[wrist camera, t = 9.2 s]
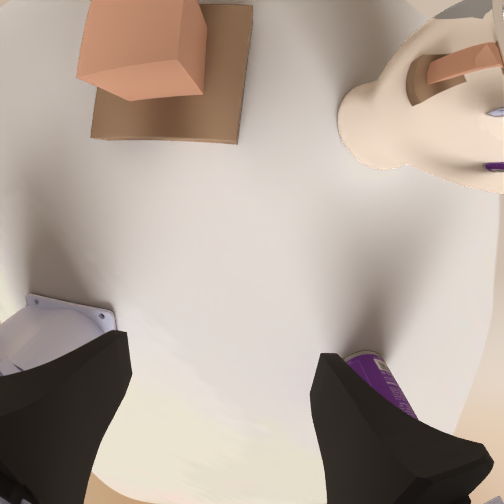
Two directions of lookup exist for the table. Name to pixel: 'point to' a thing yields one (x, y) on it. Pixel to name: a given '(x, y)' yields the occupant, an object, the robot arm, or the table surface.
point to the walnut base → (192, 106)
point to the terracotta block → (144, 48)
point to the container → (379, 378)
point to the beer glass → (437, 101)
